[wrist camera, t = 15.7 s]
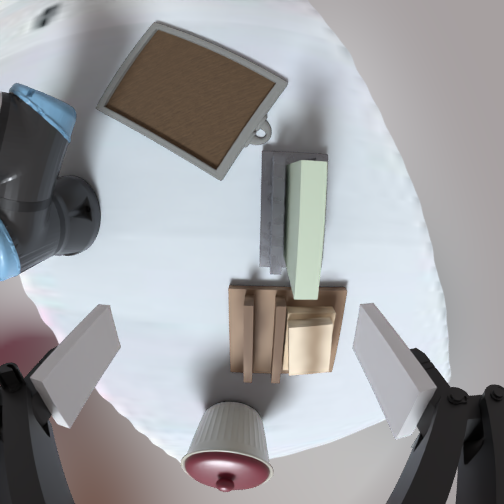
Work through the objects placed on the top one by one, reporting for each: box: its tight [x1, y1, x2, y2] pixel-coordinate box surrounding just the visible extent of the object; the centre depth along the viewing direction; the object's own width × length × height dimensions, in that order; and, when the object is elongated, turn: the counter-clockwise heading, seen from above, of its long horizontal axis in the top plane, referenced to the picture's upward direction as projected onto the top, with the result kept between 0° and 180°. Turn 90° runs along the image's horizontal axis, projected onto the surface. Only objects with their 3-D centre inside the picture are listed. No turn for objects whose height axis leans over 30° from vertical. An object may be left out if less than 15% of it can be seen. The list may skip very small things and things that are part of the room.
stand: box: [260, 151, 328, 275], centre depth 40 cm, size 10×18×8 cm, turn 179°
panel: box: [283, 160, 327, 300], centre depth 34 cm, size 2×14×16 cm, turn 179°
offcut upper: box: [288, 317, 333, 376], centre depth 44 cm, size 7×10×2 cm
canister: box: [181, 401, 274, 492], centre depth 47 cm, size 18×18×21 cm
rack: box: [228, 285, 347, 383], centre depth 47 cm, size 20×18×6 cm
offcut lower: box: [282, 306, 336, 370], centre depth 47 cm, size 8×12×2 cm, turn 179°
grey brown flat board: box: [96, 22, 288, 181], centre depth 39 cm, size 19×2×30 cm
